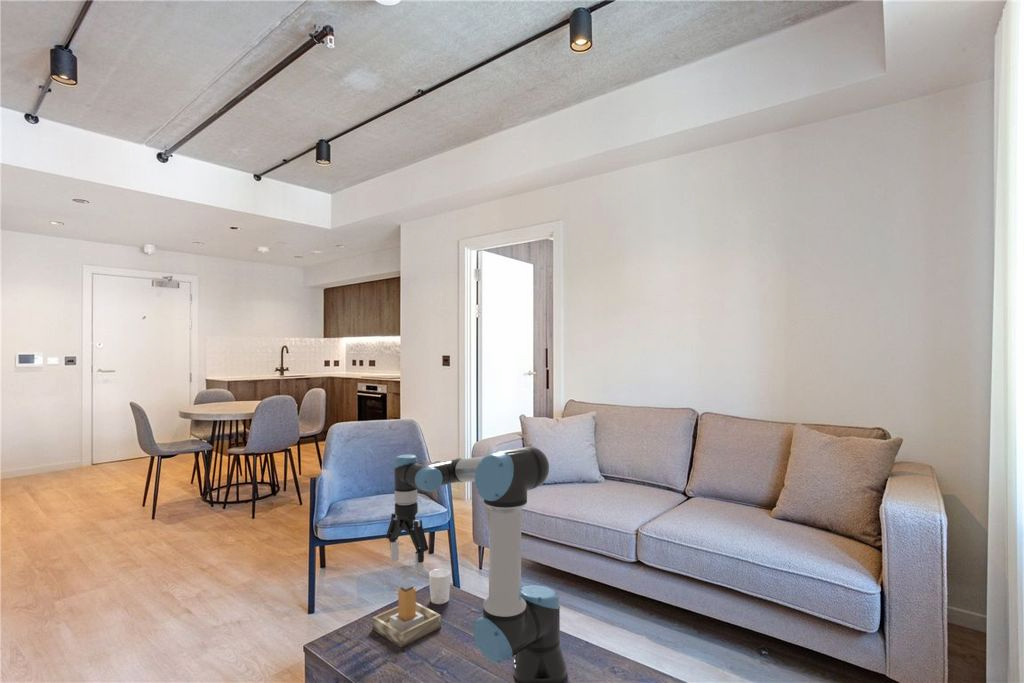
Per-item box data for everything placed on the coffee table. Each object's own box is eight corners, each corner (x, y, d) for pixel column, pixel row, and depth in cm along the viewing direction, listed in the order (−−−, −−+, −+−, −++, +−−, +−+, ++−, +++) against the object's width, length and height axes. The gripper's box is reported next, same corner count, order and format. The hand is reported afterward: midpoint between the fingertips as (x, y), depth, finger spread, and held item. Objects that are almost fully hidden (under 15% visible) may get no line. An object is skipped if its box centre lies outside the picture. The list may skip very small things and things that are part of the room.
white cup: (454, 597, 191) (454, 570, 191) (443, 606, 184) (443, 578, 184) (436, 593, 194) (436, 567, 195) (425, 602, 187) (424, 575, 188)
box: (441, 627, 170) (440, 614, 170) (401, 647, 158) (401, 634, 159) (411, 611, 181) (411, 599, 181) (372, 629, 169) (372, 617, 169)
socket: (423, 624, 170) (423, 615, 170) (404, 634, 164) (404, 625, 164) (409, 616, 175) (409, 607, 175) (389, 625, 169) (389, 616, 170)
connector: (415, 624, 170) (415, 586, 170) (405, 629, 167) (405, 590, 167) (408, 620, 173) (408, 582, 173) (398, 625, 170) (398, 586, 170)
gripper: (438, 506, 165) (439, 572, 165) (393, 493, 182) (394, 553, 181) (420, 511, 160) (420, 580, 159) (375, 497, 176) (375, 559, 176)
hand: (406, 566), depth 170 cm, fingers open, 13 cm apart
